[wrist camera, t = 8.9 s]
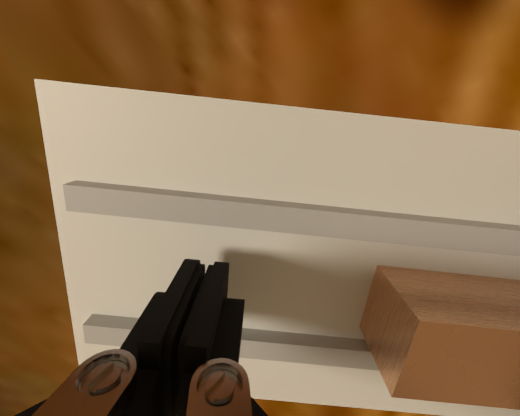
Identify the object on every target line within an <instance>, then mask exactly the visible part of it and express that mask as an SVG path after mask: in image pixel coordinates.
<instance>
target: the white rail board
mask: <svg viewBox="0 0 520 416" xmlns="http://www.w3.org/2000/svg"><path fill="white" fill-rule="evenodd" d="M34 82H35V88H36V94H37V101H38V107H39V114H40V120H41V126H42V133H43V139H44V146H45V152H46V158H47V165H48V171H49V178H50V184H51V190H52V197H53V203H54V210H55V216H56V222H57V229H58V235H59V242H60V248H61V254H62V261H63V267H64V274H65V280H66V286H67V293H68V299H69V306H70V312H71V318H72V325H73V331H74V338H75V344H76V350H77V357H78V363H79V365H80V364H82V363H83V362H84V361H85V360H86V359H88V358H90V357H91V356H93V355H95V354H97V353H100V352H102V351H105V350H111V349H120V347H121V346H122V344H123V342H124V341H125V339H126V338H127V336H128V335H129V333H130V331H131V330H132V328H133V327H134V325H135V324H136V322H137V320H138V319H139V317H140V316H141V314H142V313H143V311H144V309H145V308H146V306H147V305H148V303H149V302H150V300H151V298H152V297H153V295H154V294H155V293H156V292H166V290H167V289H168V287H169V285H170V283H171V282H172V280H173V278H174V276H175V275H176V273H177V271H178V270H179V268H180V266H181V264H182V263H183V261H184V259H195V260H200V263H201V264H205V273H206V270H207V268H208V265H214V262H215V261H217V262H228V263H229V279H228V294H227V298H234V299H245V305H244V316H243V327H242V337H241V346H240V355H239V364H240V365H241V366H242V367H243V368H244V370H245V371H246V373H247V375H248V379H249V385H250V395H251V397H252V398H255V399H266V400H277V401H288V402H299V403H310V404H321V405H332V406H343V407H354V408H365V409H376V410H387V411H398V412H409V413H420V414H431V415H442V416H520V410H516V409H506V408H496V407H485V406H475V405H465V404H455V403H445V402H434V401H424V400H414V399H404V398H393V397H391V395H390V393H389V391H388V389H387V386H386V384H385V382H384V380H383V378H382V375H381V373H380V371H379V369H378V367H377V364H376V362H375V360H374V358H373V356H372V353H371V351H370V349H369V347H368V345H367V342H366V340H365V338H364V336H363V334H362V331H361V329H360V323H361V319H362V316H363V312H364V309H365V305H366V302H367V298H368V295H369V291H370V288H371V284H372V281H373V277H374V274H375V270H376V267H377V265H382V266H392V267H401V268H411V269H420V270H430V271H439V272H449V273H458V274H467V275H477V276H486V277H496V278H505V279H515V280H520V131H517V130H507V129H498V128H489V127H479V126H470V125H461V124H451V123H442V122H433V121H423V120H414V119H404V118H395V117H386V116H376V115H367V114H358V113H348V112H339V111H330V110H320V109H311V108H302V107H292V106H283V105H274V104H264V103H255V102H246V101H236V100H227V99H217V98H208V97H199V96H189V95H180V94H171V93H161V92H152V91H143V90H133V89H124V88H115V87H105V86H96V85H87V84H77V83H68V82H59V81H49V80H40V79H34Z"/></svg>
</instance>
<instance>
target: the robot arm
mask: <svg viewBox="0 0 520 416" xmlns="http://www.w3.org/2000/svg"><path fill="white" fill-rule="evenodd" d="M228 279H229V263H228V262H217V261H215V262H214V265H208V268H207V270H206V273H205V264H201V263H200V260H195V259H184V261H183V263H182V264H181V266H180V268H179V270H178V271H177V273H176V275H175V276H174V278H173V280H172V282H171V283H170V285H169V287H168V289H167V290H166V292H156V293H155V294H154V295H153V297H152V298H151V300H150V302H149V303H148V305H147V306H146V308H145V309H144V311H143V313H142V314H141V316H140V317H139V319H138V320H137V322H136V324H135V325H134V327H133V328H132V330H131V331H130V333H129V335H128V336H127V338H126V339H125V341H124V342H123V344H122V346H121V347H120V349H111V350H105V351H102V352H100V353H97V354H95V355H93V356H91V357H90V358H88V359H86V360H85V361H84V362H83V363H82V364H80V365H79V366H78V367H77V368H76V369H75V370H74V371H73V372H72V373H71V375H70V376H69V377H68V378H67V379H66V380H65V381H64V382H63V383H62V384H61V385H60V386H59V387H58V388H57V389H56V390H55V392H54V393H53V394H52V395H51V396H50V397H49V398H48V399H46V400H44V401H42V402H40V403H38V404H36V405H34V406H32V407H30V408H29V409H27V410H25V411H23V412H21V413H19V414H17V415H15V416H268V415H267V414H266V413H265V412H264V411H263V410H262V408H261V407H260V406H259V405H258V404H257V403H256V402H255V401H254V399H253V398H252V397H251V395H250V385H249V379H248V375H247V373H246V371H245V370H244V368H243V367H242V366H241V365H240V364H239V355H240V346H241V337H242V327H243V316H244V305H245V299H234V298H227V294H228Z"/></svg>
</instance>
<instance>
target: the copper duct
mask: <svg viewBox="0 0 520 416" xmlns="http://www.w3.org/2000/svg"><path fill="white" fill-rule="evenodd" d="M360 329H361V331H362V334H363V336H364V338H365V340H366V342H367V345H368V347H369V349H370V351H371V353H372V356H373V358H374V360H375V362H376V364H377V367H378V369H379V371H380V373H381V375H382V378H383V380H384V382H385V384H386V386H387V389H388V391H389V393H390V395H391V397H393V398H404V399H414V400H424V401H434V402H445V403H455V404H465V405H475V406H485V407H496V408H506V409H516V410H520V280H515V279H505V278H496V277H486V276H477V275H467V274H458V273H449V272H439V271H430V270H420V269H411V268H401V267H392V266H382V265H377V267H376V270H375V274H374V277H373V281H372V284H371V288H370V291H369V295H368V298H367V302H366V305H365V309H364V312H363V316H362V319H361V323H360Z"/></svg>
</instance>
